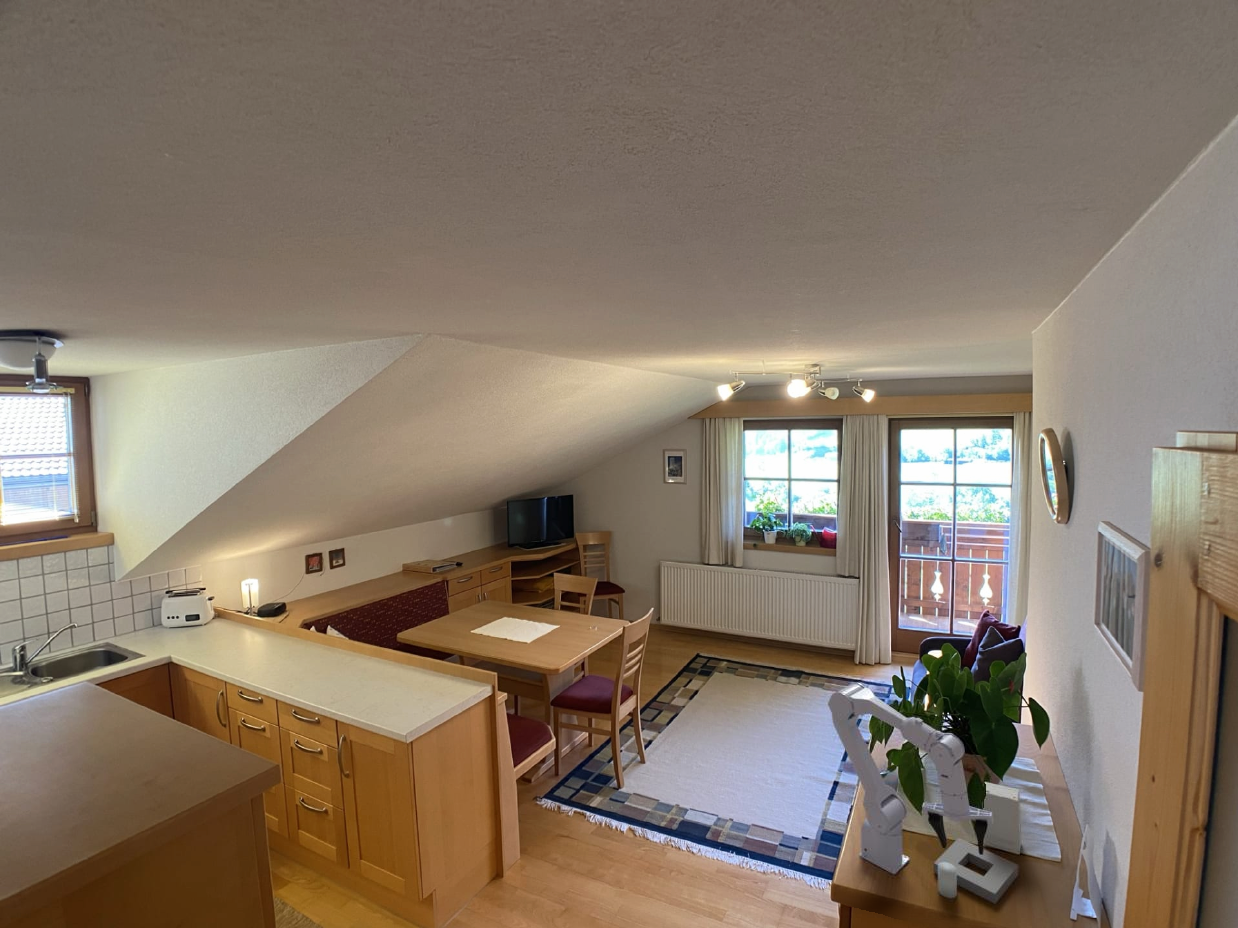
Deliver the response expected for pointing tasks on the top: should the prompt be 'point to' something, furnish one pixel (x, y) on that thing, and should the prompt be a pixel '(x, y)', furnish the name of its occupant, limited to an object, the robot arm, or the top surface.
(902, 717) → the robot arm
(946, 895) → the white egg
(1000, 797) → the skincare box
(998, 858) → the dock
